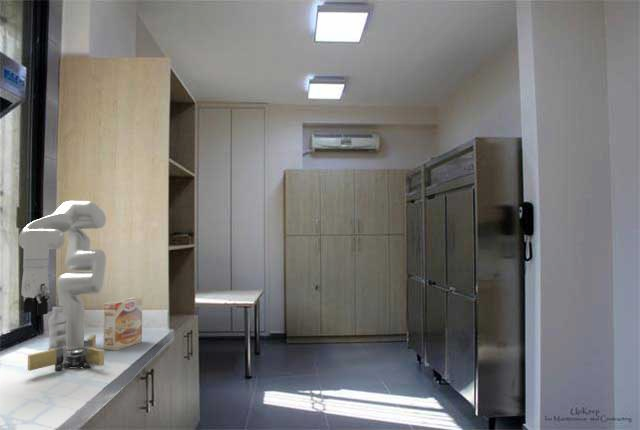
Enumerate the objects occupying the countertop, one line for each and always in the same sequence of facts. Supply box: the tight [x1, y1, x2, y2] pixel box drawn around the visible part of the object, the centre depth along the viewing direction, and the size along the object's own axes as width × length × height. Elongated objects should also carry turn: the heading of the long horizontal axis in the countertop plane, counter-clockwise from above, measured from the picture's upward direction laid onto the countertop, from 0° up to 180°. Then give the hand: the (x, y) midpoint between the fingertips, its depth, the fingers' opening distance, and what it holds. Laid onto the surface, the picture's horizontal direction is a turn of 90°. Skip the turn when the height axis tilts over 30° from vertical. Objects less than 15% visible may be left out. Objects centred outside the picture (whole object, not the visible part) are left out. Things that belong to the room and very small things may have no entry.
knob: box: [84, 334, 97, 348], centre depth 168 cm, size 11×3×8 cm, turn 17°
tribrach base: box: [62, 348, 83, 370], centre depth 157 cm, size 9×10×5 cm
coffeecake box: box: [102, 297, 143, 351], centre depth 185 cm, size 15×7×20 cm, turn 158°
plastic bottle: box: [47, 305, 69, 354], centre depth 166 cm, size 6×7×20 cm
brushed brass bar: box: [27, 348, 64, 372], centre depth 149 cm, size 11×3×8 cm, turn 147°
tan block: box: [82, 346, 105, 370], centre depth 152 cm, size 11×3×8 cm, turn 57°
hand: (35, 313), depth 150 cm, fingers open, 9 cm apart
